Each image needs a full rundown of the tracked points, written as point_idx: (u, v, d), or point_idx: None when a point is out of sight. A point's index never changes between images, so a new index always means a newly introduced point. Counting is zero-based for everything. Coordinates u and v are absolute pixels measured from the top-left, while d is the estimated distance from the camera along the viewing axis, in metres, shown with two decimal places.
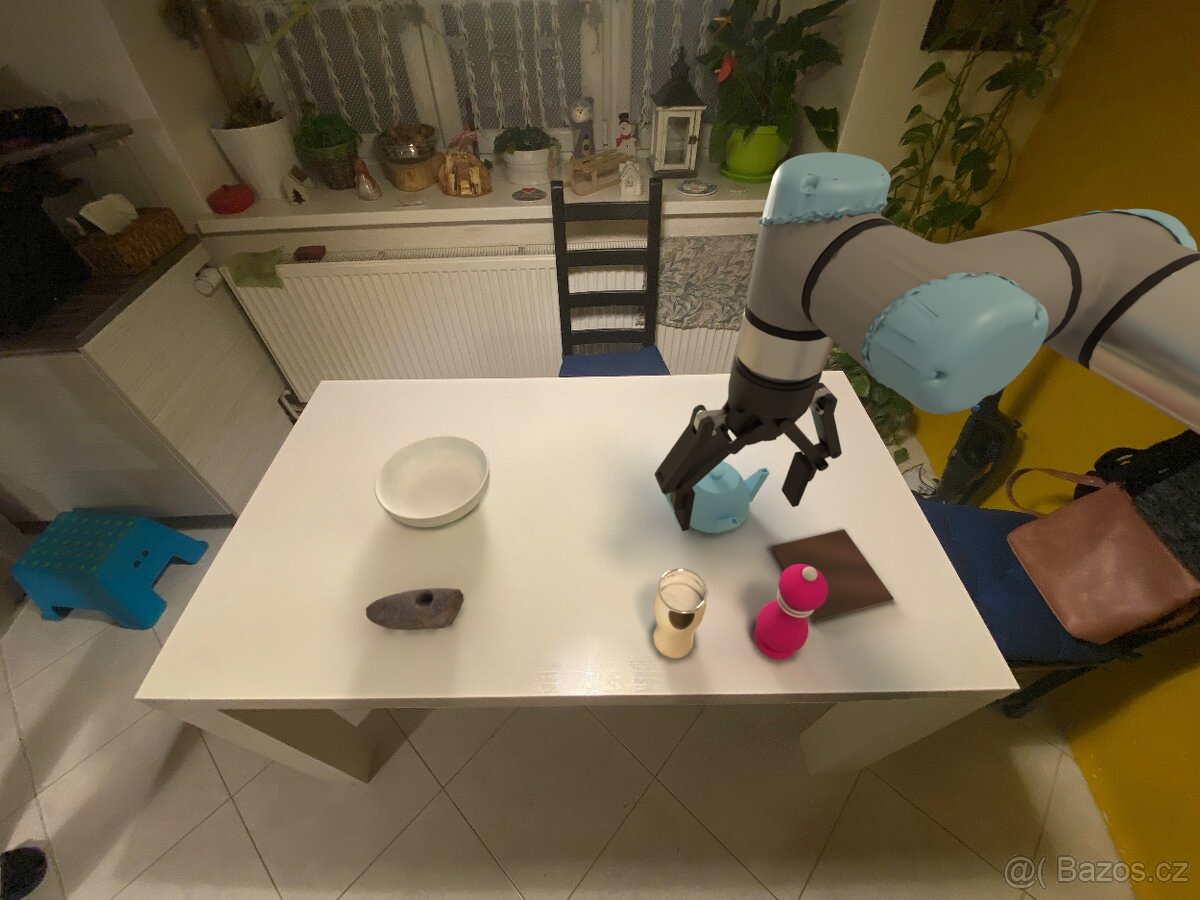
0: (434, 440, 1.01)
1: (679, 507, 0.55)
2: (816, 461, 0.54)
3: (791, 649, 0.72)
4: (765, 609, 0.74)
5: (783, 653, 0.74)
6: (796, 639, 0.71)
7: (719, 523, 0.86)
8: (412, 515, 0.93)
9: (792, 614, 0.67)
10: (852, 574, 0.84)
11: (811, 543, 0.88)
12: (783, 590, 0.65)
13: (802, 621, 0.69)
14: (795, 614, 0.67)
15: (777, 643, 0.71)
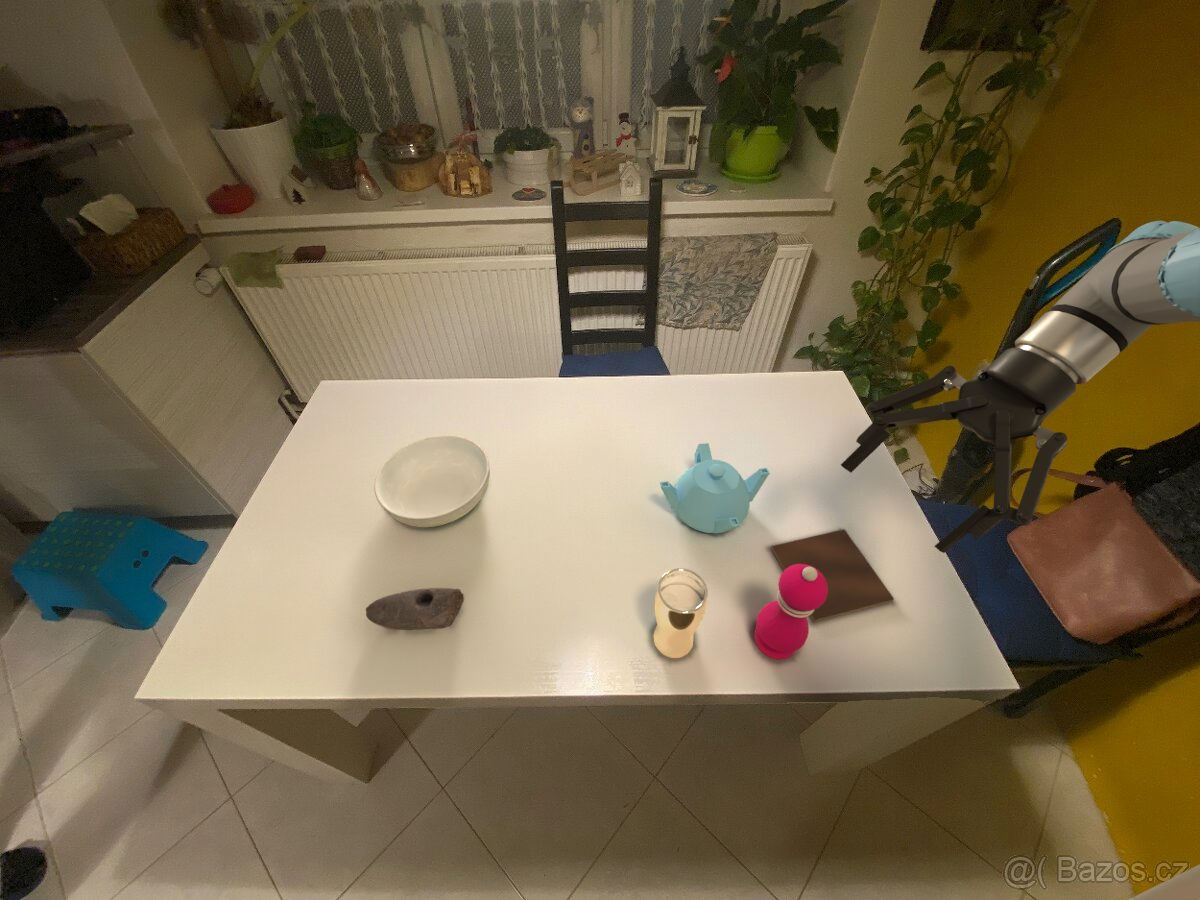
0: (434, 440, 1.01)
1: (861, 441, 0.64)
2: (998, 504, 0.53)
3: (791, 649, 0.72)
4: (765, 609, 0.74)
5: (783, 653, 0.74)
6: (796, 639, 0.71)
7: (719, 523, 0.86)
8: (412, 515, 0.93)
9: (792, 614, 0.67)
10: (852, 574, 0.84)
11: (811, 543, 0.88)
12: (783, 590, 0.65)
13: (802, 621, 0.69)
14: (795, 614, 0.67)
15: (777, 643, 0.71)
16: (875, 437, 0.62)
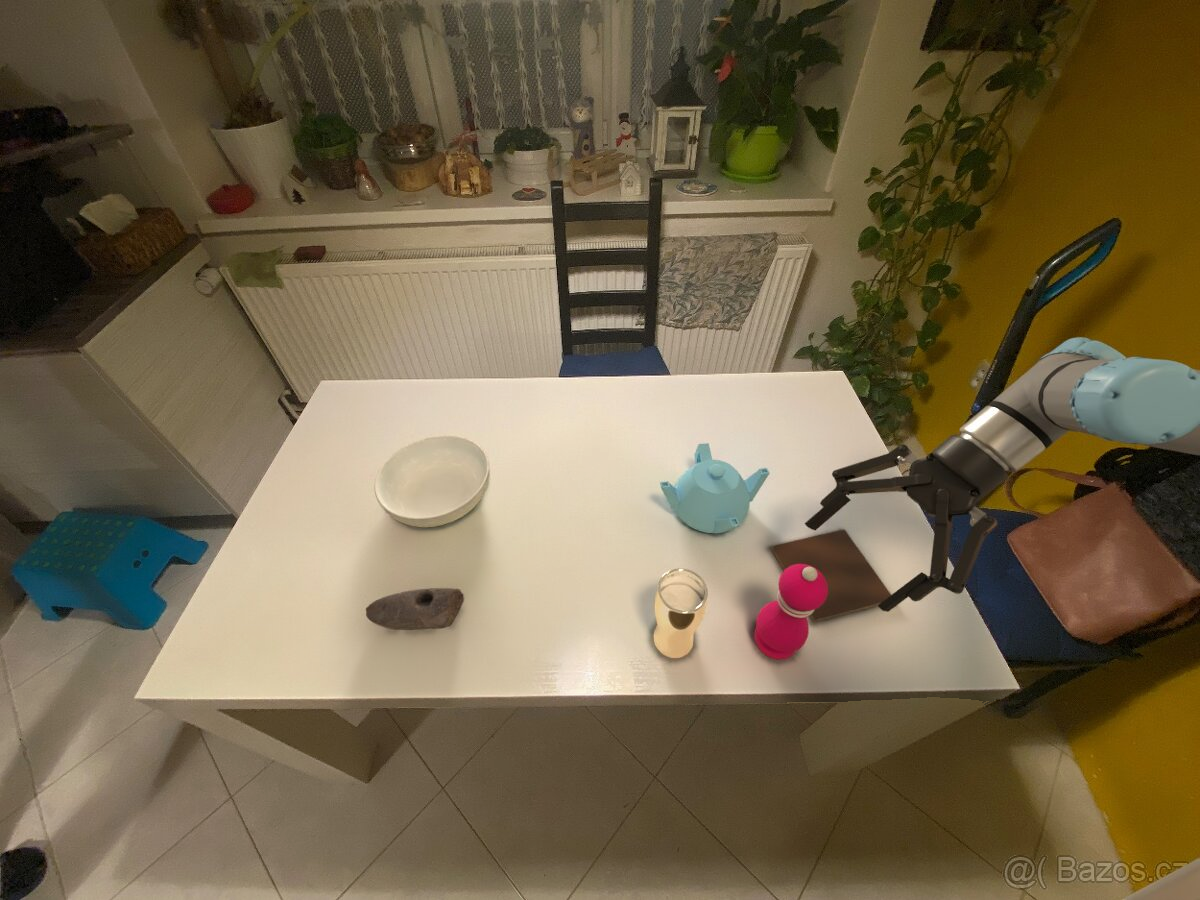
0: (434, 440, 1.01)
1: (824, 503, 0.71)
2: (934, 573, 0.60)
3: (791, 649, 0.72)
4: (765, 609, 0.74)
5: (783, 653, 0.74)
6: (796, 639, 0.71)
7: (719, 523, 0.86)
8: (412, 515, 0.93)
9: (792, 614, 0.67)
10: (852, 574, 0.84)
11: (811, 543, 0.88)
12: (783, 590, 0.65)
13: (802, 621, 0.69)
14: (795, 614, 0.67)
15: (777, 643, 0.71)
16: (836, 501, 0.69)
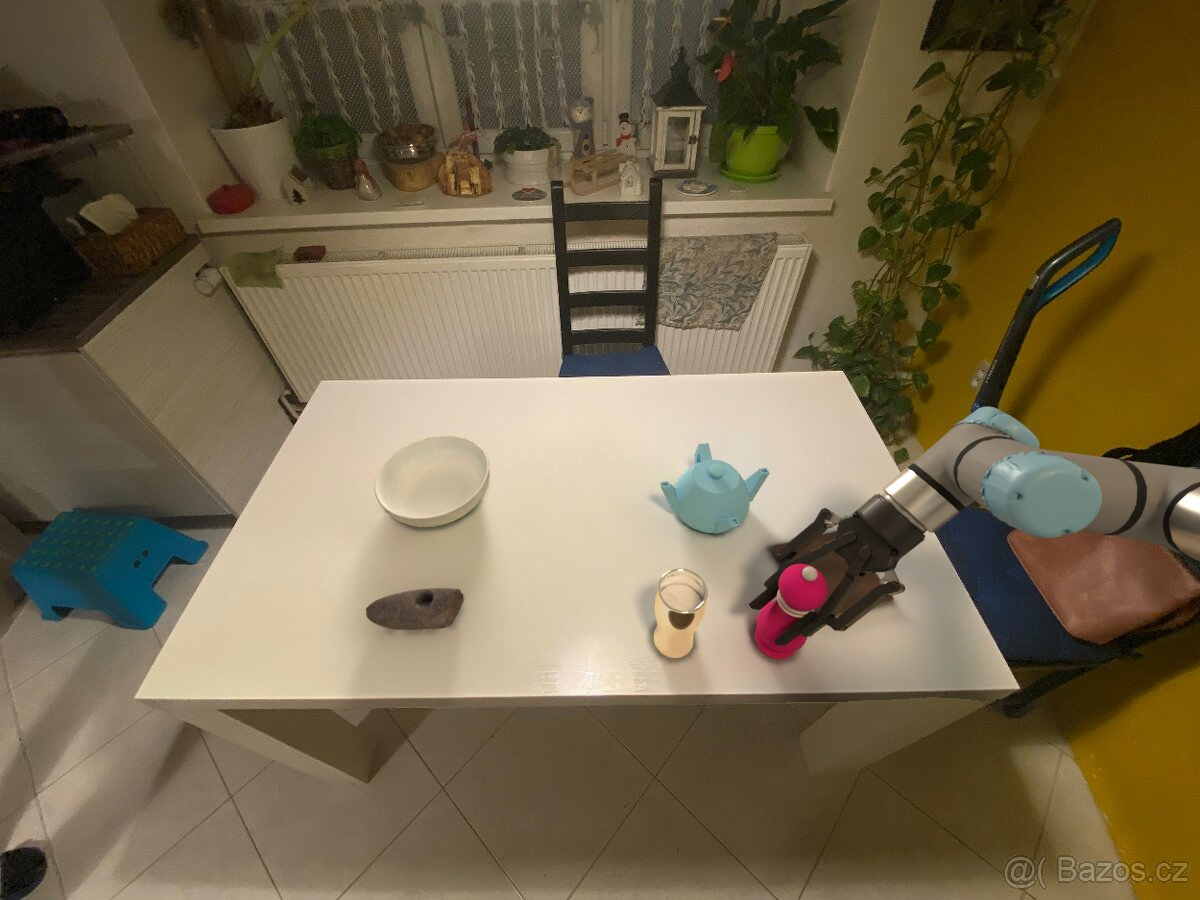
0: (434, 440, 1.01)
1: (767, 585, 0.71)
2: (822, 612, 0.65)
3: (791, 649, 0.72)
4: (765, 609, 0.74)
5: (783, 653, 0.74)
6: (796, 639, 0.71)
7: (719, 523, 0.86)
8: (412, 515, 0.93)
9: (792, 614, 0.67)
10: None
11: (811, 543, 0.88)
12: (783, 590, 0.65)
13: None
14: (795, 614, 0.67)
15: None
16: None
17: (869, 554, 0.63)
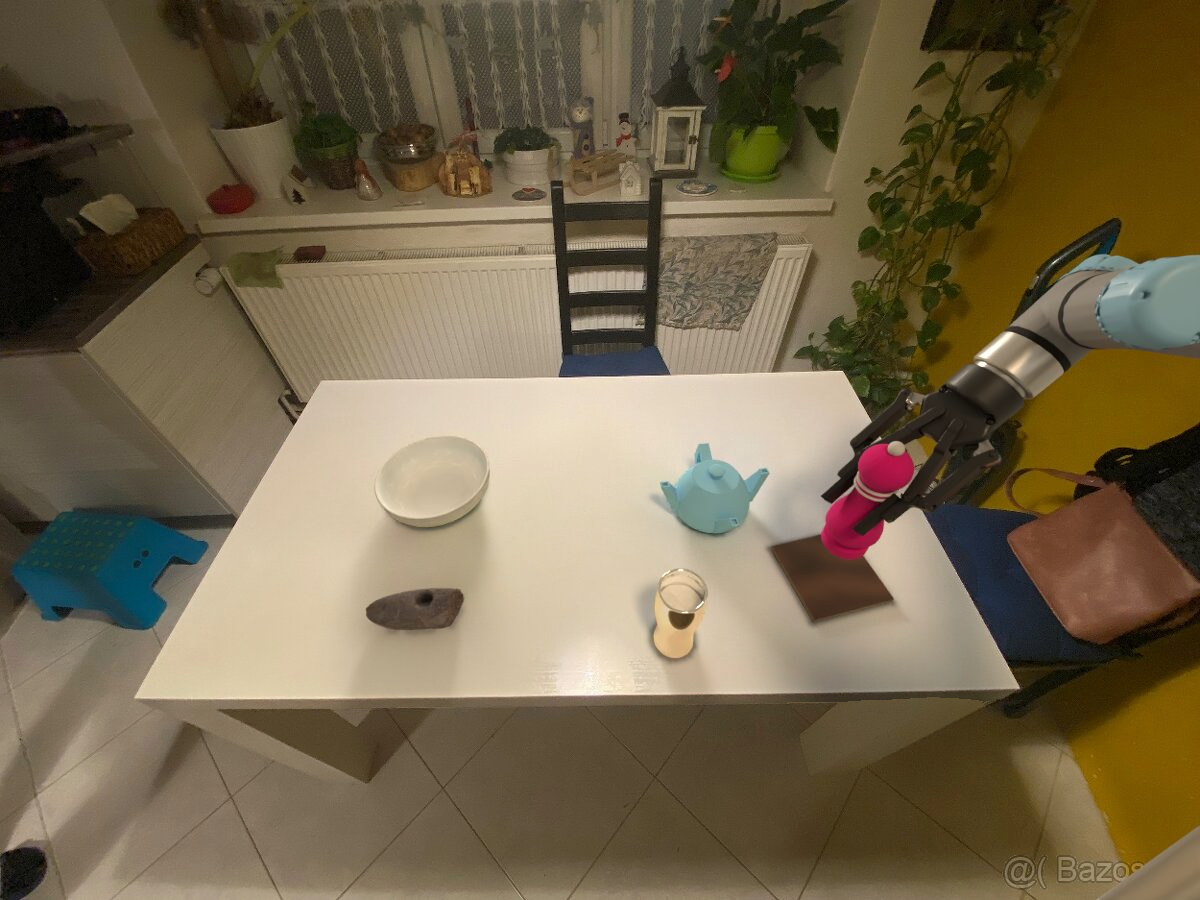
0: (434, 440, 1.01)
1: (841, 474, 0.67)
2: (908, 492, 0.61)
3: (866, 543, 0.67)
4: (836, 503, 0.69)
5: (855, 551, 0.70)
6: (872, 531, 0.66)
7: (719, 523, 0.86)
8: (412, 515, 0.93)
9: (873, 498, 0.63)
10: (852, 574, 0.84)
11: (811, 543, 0.88)
12: (866, 469, 0.61)
13: None
14: (877, 498, 0.62)
15: (852, 536, 0.67)
16: (854, 472, 0.65)
17: (961, 425, 0.58)
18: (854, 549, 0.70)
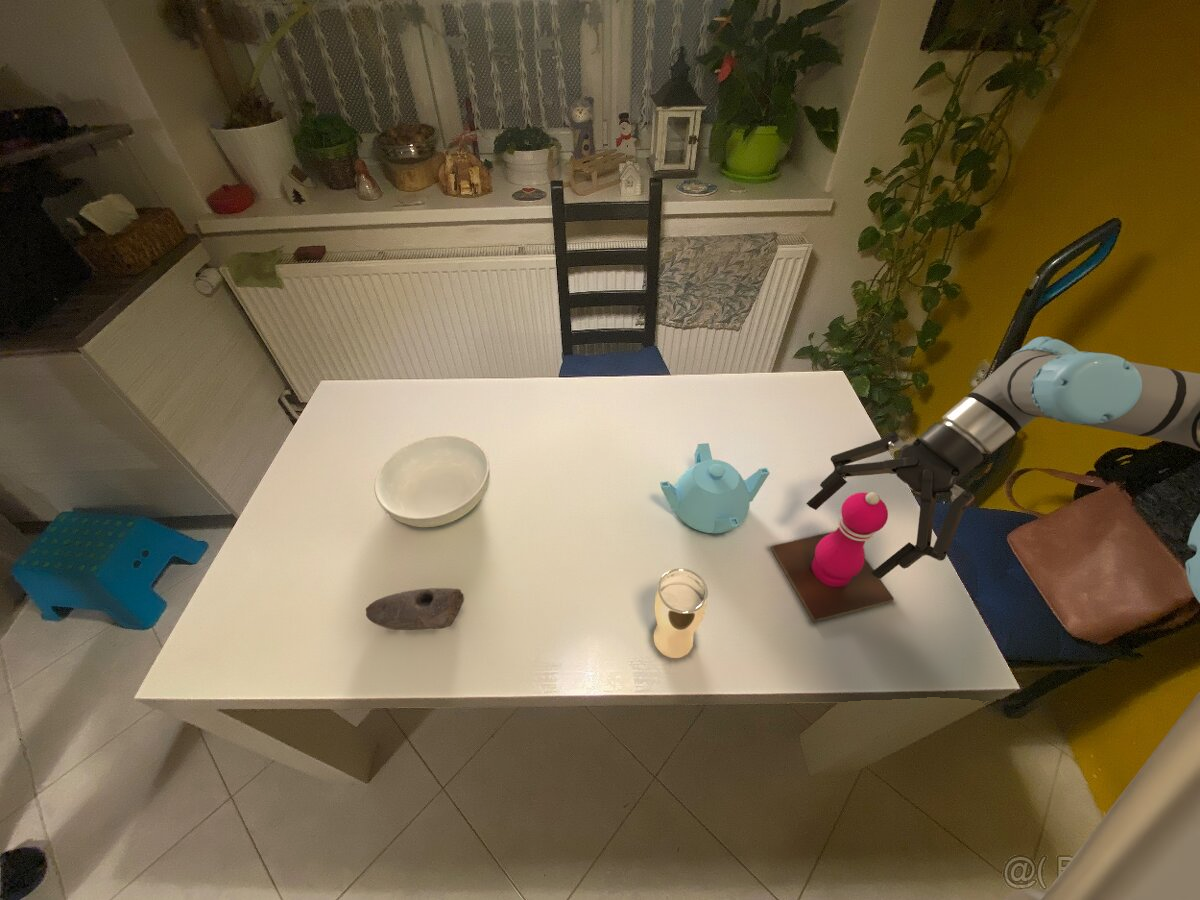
0: (434, 440, 1.01)
1: (823, 485, 0.80)
2: (920, 542, 0.68)
3: (849, 574, 0.79)
4: (824, 539, 0.81)
5: (841, 580, 0.81)
6: (854, 565, 0.78)
7: (719, 523, 0.86)
8: (412, 515, 0.93)
9: (854, 538, 0.74)
10: None
11: (811, 543, 0.88)
12: (847, 514, 0.72)
13: (861, 546, 0.76)
14: (857, 538, 0.74)
15: (837, 568, 0.78)
16: (834, 483, 0.78)
17: (932, 473, 0.69)
18: (839, 578, 0.81)
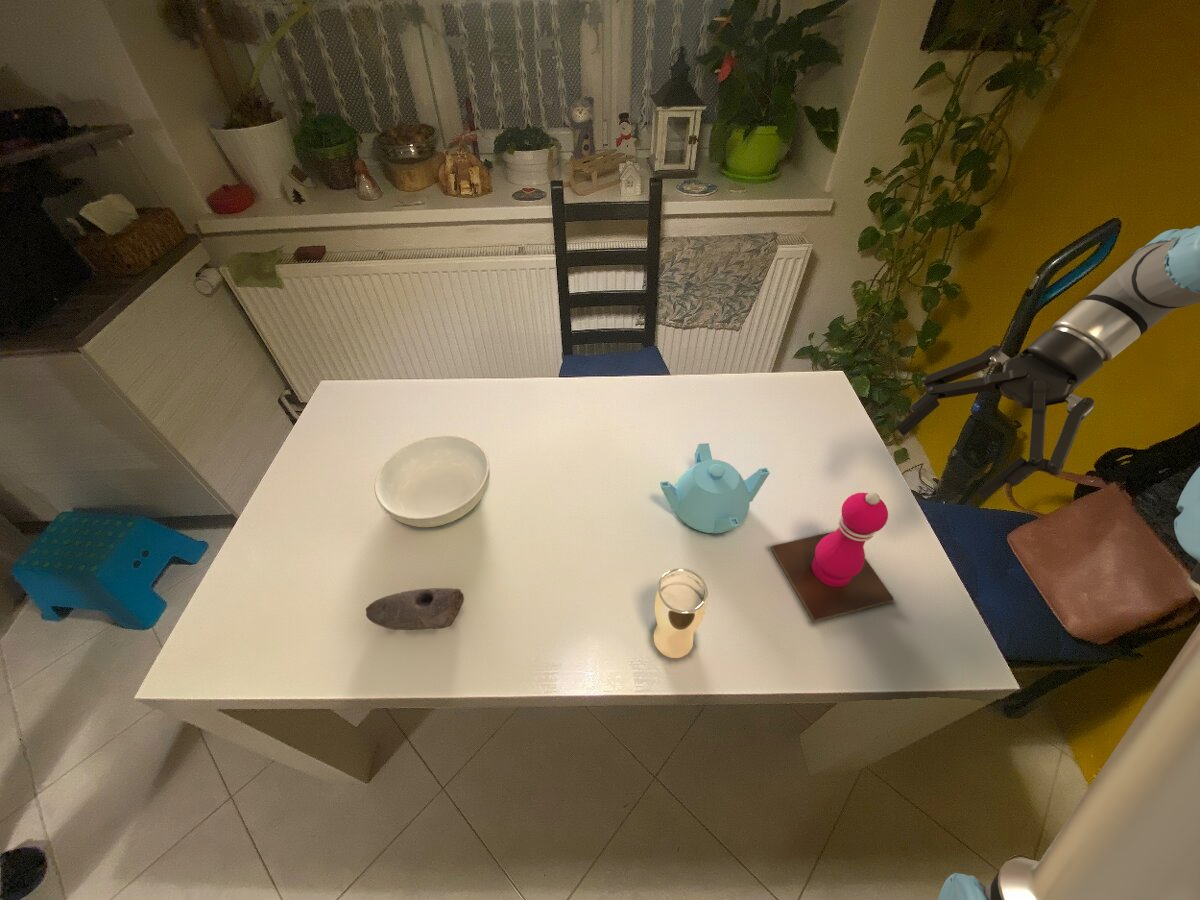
0: (434, 440, 1.01)
1: (914, 408, 0.75)
2: (1033, 456, 0.64)
3: (849, 574, 0.79)
4: (824, 539, 0.81)
5: (841, 580, 0.81)
6: (854, 565, 0.78)
7: (719, 523, 0.86)
8: (412, 515, 0.93)
9: (854, 538, 0.74)
10: None
11: (811, 543, 0.88)
12: (847, 514, 0.72)
13: (861, 547, 0.76)
14: (857, 538, 0.74)
15: (837, 568, 0.78)
16: (927, 404, 0.73)
17: (1045, 383, 0.65)
18: (839, 578, 0.81)
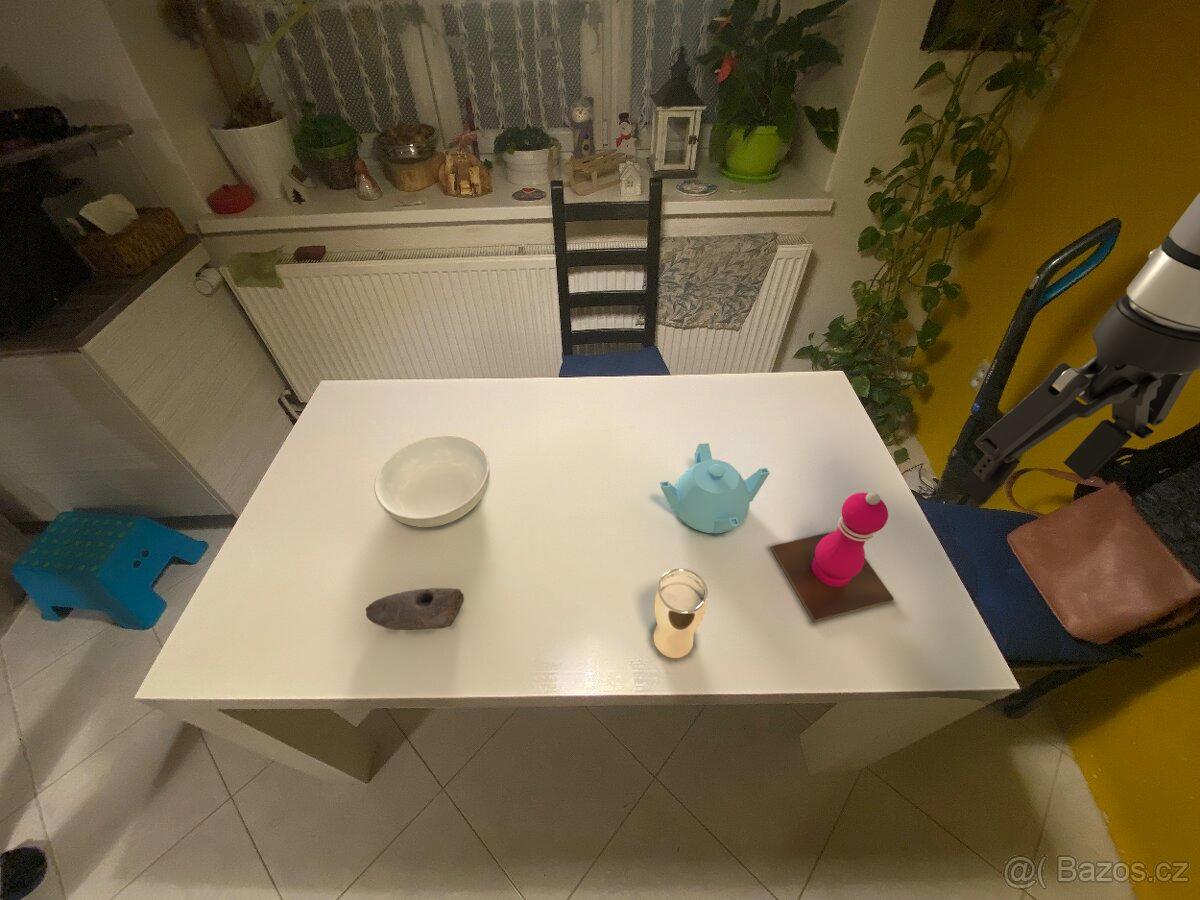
0: (434, 440, 1.01)
1: (989, 478, 0.52)
2: (1138, 428, 0.51)
3: (849, 574, 0.79)
4: (824, 539, 0.81)
5: (841, 580, 0.81)
6: (854, 565, 0.78)
7: (719, 523, 0.86)
8: (412, 515, 0.93)
9: (854, 538, 0.74)
10: None
11: (811, 543, 0.88)
12: (847, 514, 0.72)
13: (861, 547, 0.76)
14: (857, 538, 0.74)
15: (837, 568, 0.78)
16: (1010, 471, 0.50)
17: (1160, 381, 0.44)
18: (839, 578, 0.81)
